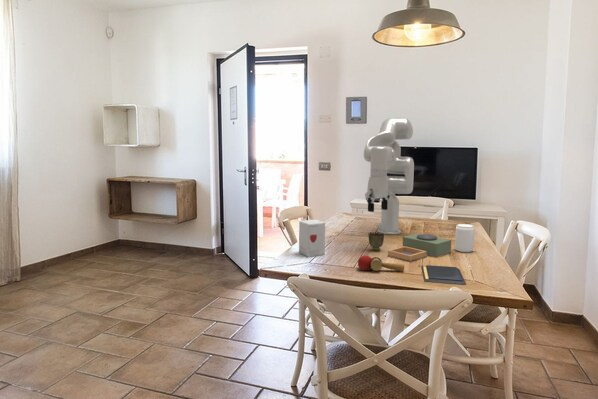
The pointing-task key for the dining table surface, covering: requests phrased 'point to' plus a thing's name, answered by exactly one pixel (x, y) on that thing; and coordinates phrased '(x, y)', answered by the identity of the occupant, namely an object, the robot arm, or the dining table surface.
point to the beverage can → (464, 238)
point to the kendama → (377, 264)
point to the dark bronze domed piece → (376, 240)
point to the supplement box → (312, 238)
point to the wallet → (442, 275)
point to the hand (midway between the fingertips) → (377, 210)
